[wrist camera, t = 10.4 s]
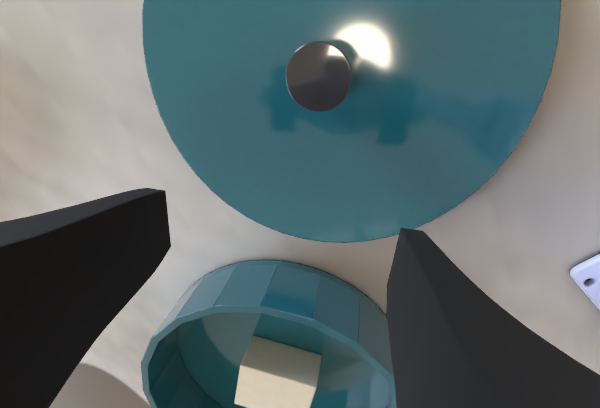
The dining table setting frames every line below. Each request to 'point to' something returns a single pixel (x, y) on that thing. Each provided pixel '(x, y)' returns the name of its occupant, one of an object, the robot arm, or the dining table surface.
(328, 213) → the lid
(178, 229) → the dining table surface
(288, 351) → the block
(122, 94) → the dining table surface
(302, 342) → the pan
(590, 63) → the dining table surface
